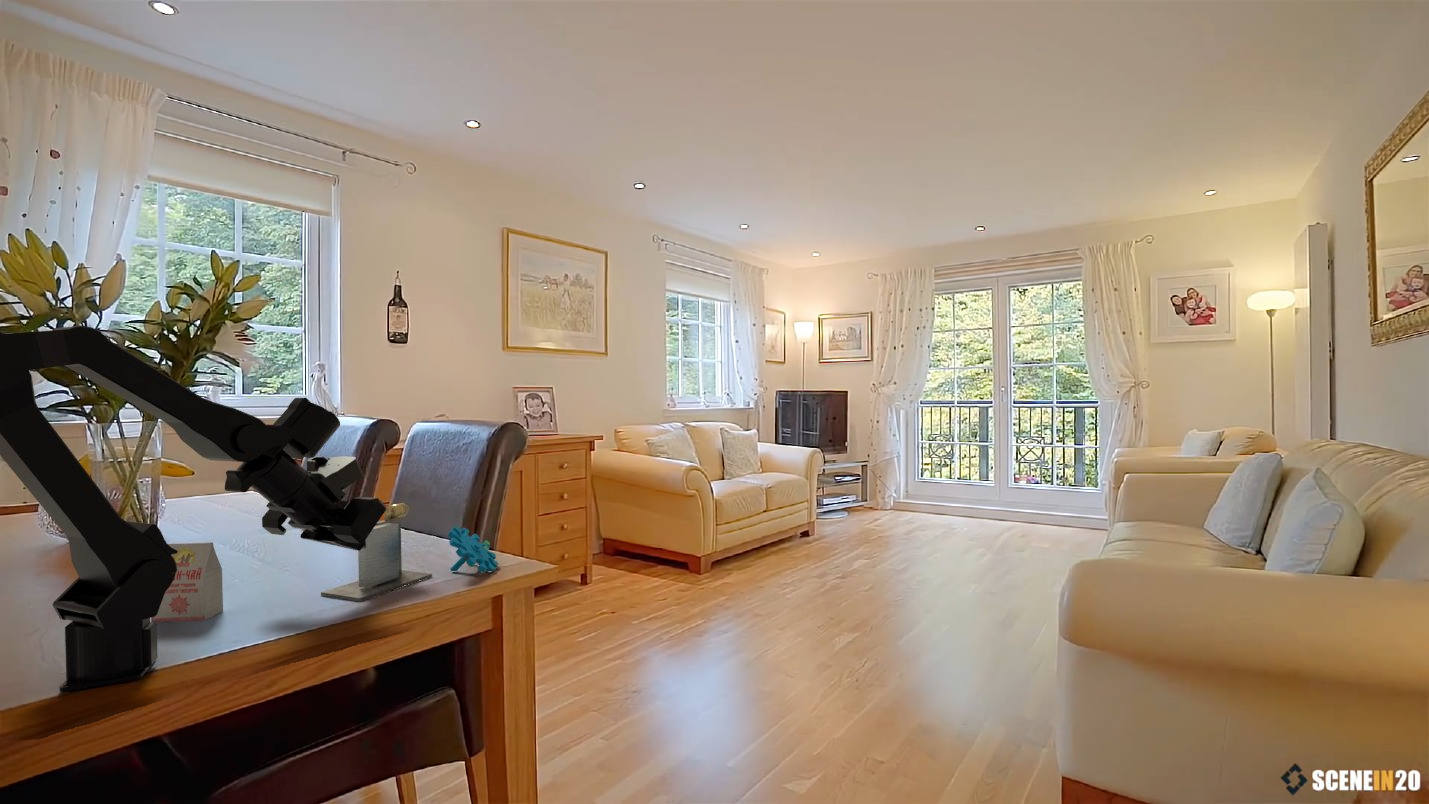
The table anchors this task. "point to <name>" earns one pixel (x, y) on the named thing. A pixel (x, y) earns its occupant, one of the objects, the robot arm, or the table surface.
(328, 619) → the table surface
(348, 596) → the hinge base
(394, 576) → the brass-capped grey pillar
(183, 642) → the table surface
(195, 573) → the tea bag
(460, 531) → the teal branched piece
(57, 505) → the robot arm
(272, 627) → the table surface
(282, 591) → the table surface
